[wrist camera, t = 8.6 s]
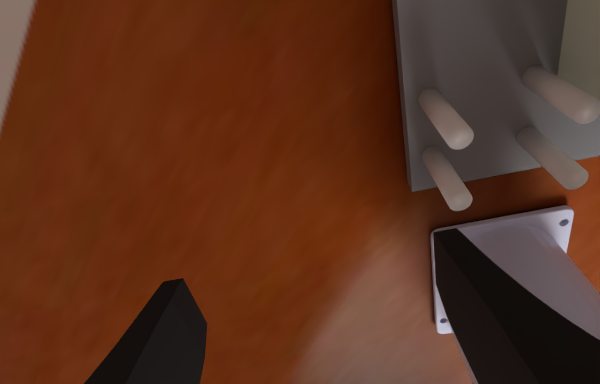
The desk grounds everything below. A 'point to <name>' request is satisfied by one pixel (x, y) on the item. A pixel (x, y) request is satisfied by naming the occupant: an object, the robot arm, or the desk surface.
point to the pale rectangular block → (581, 46)
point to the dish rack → (488, 94)
